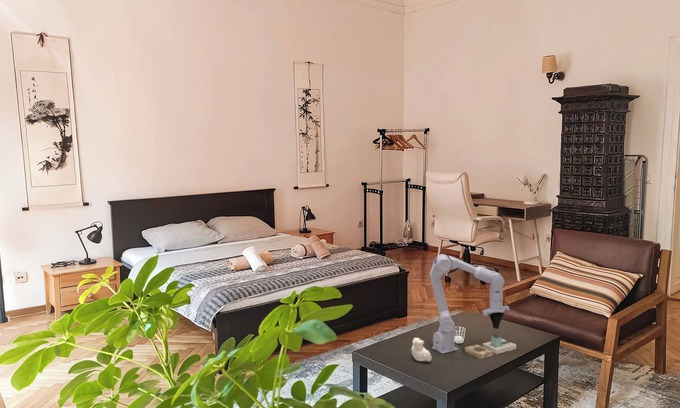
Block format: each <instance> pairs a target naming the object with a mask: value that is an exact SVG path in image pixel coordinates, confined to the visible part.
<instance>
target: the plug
mask: <svg viewBox="0 0 680 408" xmlns="http://www.w3.org/2000/svg"><path fill="white" fill-rule="evenodd" d="M490 339H491V341H490V342H491V346H493V347H495V348H496V347H500V346H501V343H502V339H503V337H501V333H500V332H499V331H494V332H492V336H491V338H490Z"/></svg>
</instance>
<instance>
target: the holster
mask: <svg viewBox="0 0 680 408" xmlns="http://www.w3.org/2000/svg"><path fill="white" fill-rule="evenodd" d="M464 352H465V353H467V354H469V355H470V356H473V357H475V358H477V359H479V360H482V359H486V358H490V357H493V356H494V353H493V351H491V350H489V349H487V348H485V347H483V345H481V344H477V343H476V344H474V345H469V346H466V347H464Z"/></svg>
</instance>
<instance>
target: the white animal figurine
mask: <svg viewBox="0 0 680 408" xmlns="http://www.w3.org/2000/svg"><path fill="white" fill-rule="evenodd" d="M424 344H425V341H424V340H422V339H421V337H414V338H413V339H412V345H411V349H410V350H411V355H412V357H413V359H414V360H416V362H417V361H418V362H431V361H432V355H431V353H430V351H429V350H428V349H426V347H425V346H424Z"/></svg>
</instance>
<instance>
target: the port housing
mask: <svg viewBox="0 0 680 408" xmlns="http://www.w3.org/2000/svg"><path fill="white" fill-rule="evenodd" d="M482 347H485V348H487V349H489V350H491V351H493V354H496V355H498V354H502V353H506V351H507V352H510V351H514V350H516V349H517V344H516V343H513V342H511V341H508V340H506V339H503V338H502V343H501V346H500V347H496V348H495V347H493V346H491V341H488V342H484V343H482Z"/></svg>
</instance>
